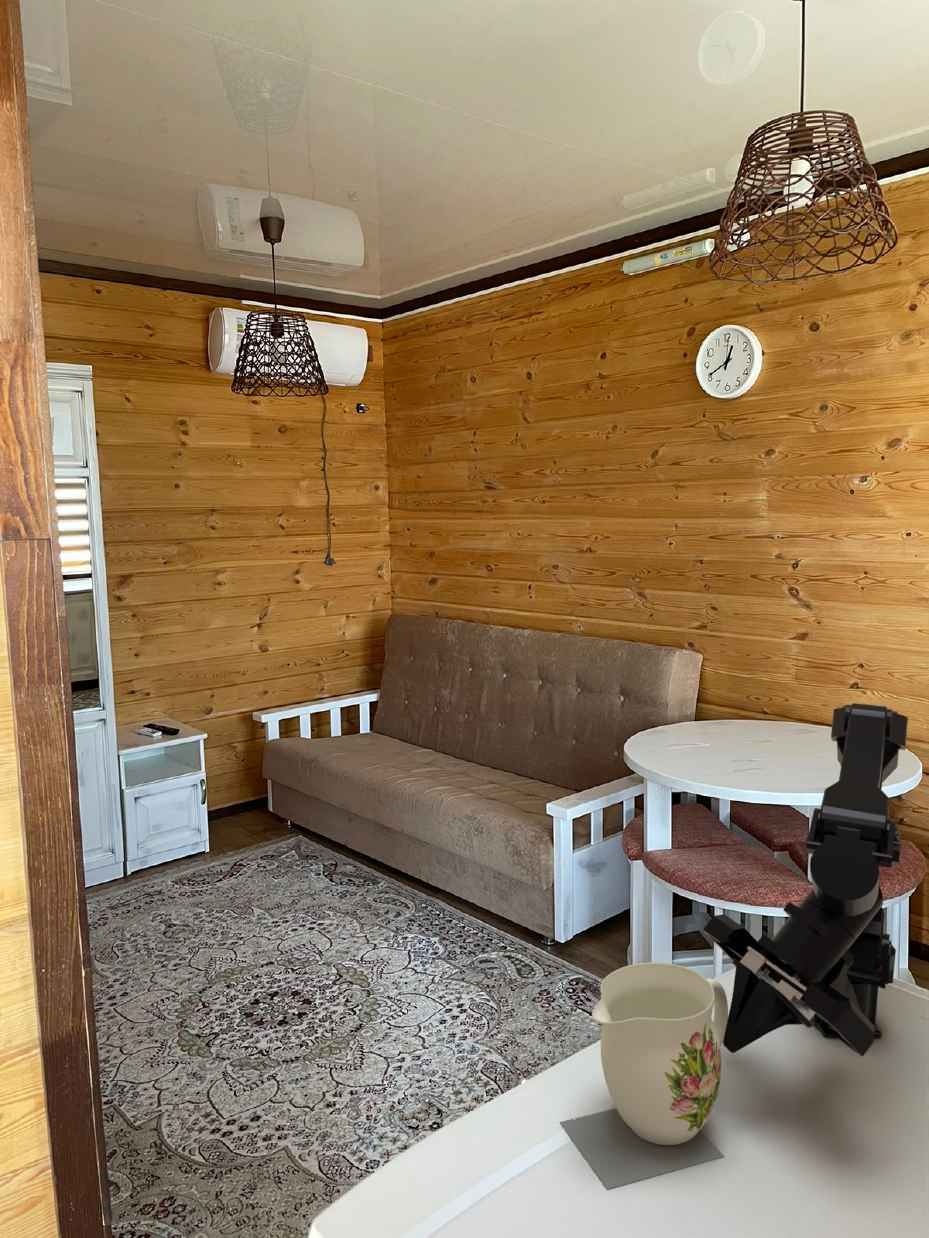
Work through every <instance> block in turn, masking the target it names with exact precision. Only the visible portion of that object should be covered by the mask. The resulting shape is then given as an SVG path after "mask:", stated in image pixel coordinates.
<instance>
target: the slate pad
mask: <svg viewBox="0 0 929 1238" xmlns="http://www.w3.org/2000/svg"><path fill="white" fill-rule="evenodd" d="M574 1119H575V1120H574ZM559 1125H560V1126H561V1127H562V1128H563V1130H564V1129H565V1130H564V1131H565V1133H566V1135H567V1136H568V1137H569V1138H570V1140H571V1141H572V1142H573V1144H574V1146H575V1147H576V1149H577V1150H578V1151H579V1153H580V1154H581V1156H582V1157H583V1158H584V1160H585V1161H586V1162H587V1164H588V1165H589V1167H590V1168H591V1170H592V1171H593V1173H594V1174H595V1176H597V1178H598V1180H599V1181H600V1183H601V1184H602V1185H603V1187H604V1188H605V1190H606V1191H610V1190H614V1189H618V1188H621V1187H625V1186H628V1185H630V1184H634V1183H638V1182H641V1181H644V1180H645V1181H646V1180H649V1179H653V1178H656V1177H659V1176H662V1175H663V1176H664V1175H667V1174H670V1173H673V1172H677V1171H681V1170H684V1169H688V1168H691V1167H695V1166H699V1165H701V1164H705V1163H709V1162H712V1161H716V1160H719V1159H722V1158H723V1159H724V1158H725V1155H724V1154H723V1153H722V1151H720V1149H718V1147H717V1146H716V1144H714V1143H713V1142H712V1141H711V1140H710V1138H709V1137H707V1135H706V1134H705V1133H704V1132H703V1131H702V1130H701V1129H700V1130H699V1131H698V1133H697V1134H696V1135H695V1136H694V1137H693V1138H691V1139H690V1140H688V1141H686V1142H683V1143H680V1144H675V1145H660V1144H655V1143H652V1142H649V1141H646V1140H644V1139H642V1138H641V1137H639V1136H638V1135H637V1134H635V1133H634V1131H633V1130H632V1129H631V1128H630V1127H629V1126H628V1125H627V1124H626V1122H625V1121H624V1120H623V1118H622V1117H621V1115H620V1114H619V1112H618V1111H617V1109H616V1107H615V1108H612V1109H607V1110H603V1111H600V1112H596V1113H591V1114H587V1115H583V1116H579V1117H574V1118H571V1119H567V1120H562V1121H560V1122H559Z"/></svg>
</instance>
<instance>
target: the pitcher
mask: <svg viewBox="0 0 929 1238" xmlns="http://www.w3.org/2000/svg"><path fill="white" fill-rule="evenodd" d="M599 988H600V989H599V991H600V995H601V998H600V1000H599V1001H598V1002H597V1003H596V1004H595V1006H594V1007H593V1010H592V1012H591V1017H592V1019H593V1020H594V1021H595V1022H596V1023H598V1024H600V1025H602V1027H601V1035H600V1057H601V1058H600V1059H601V1066H602V1071H603V1076H604V1080H605V1084H606V1087H607V1089H608V1092H609V1095H610V1098H611V1100H612V1103H613V1104H614V1106H615V1108H616V1109H617V1111H618V1112H619V1114H620V1115H621V1117H622V1118H623V1120H624V1121H625V1122H626V1124H627V1125H628V1126H629V1127H630V1128H631V1129H632V1130H633V1131H634V1133H635V1134H637V1135H638V1136H639V1137H641V1138H642V1139H644V1140H646V1141H649V1142H652V1143H655V1144H660V1145H675V1144H680V1143H683V1142H686V1141H688V1140H690V1139H691V1138H693V1137H694V1136H695V1135H696V1134H697V1133H698V1131H699V1130H701V1129H702V1128H703V1127H704V1126H705V1125H706V1123H707V1121H708V1120H709V1117H710V1116H711V1113H712V1111H713V1109H714V1106H715V1103H716V1100H717V1097H718V1093H719V1089H720V1084H721V1077H722V1076H721V1074H722V1050H721V1047H722V1046H723V1039H724V1035H725V1030H726V1025H727V1021H728V1016H729V1005H728V1004H729V1003H728V997H727V993H726V991H725V989H724V987H723V985H722V984H721V982H719V981H718V980H717V979H713V978H710V977H708V978H707V977H705V976H703V975H702V974H700V973H699V972H697V971H695V970H693V969H691V968H688V967H686V966H682V965H678V964H674V963H669V962H668V963H667V962H658V961H657V962H655V961H653V962H640V963H633V964H629V965H626V966H623V967H620V968H619V969H615V970H614V971H612V972H610V973H609V974H608V975H606V976H605V977H604V979H602V981H601V984H600V987H599ZM713 1009H714V1011H713ZM713 1013H714V1015H713ZM712 1015H713V1019H712Z"/></svg>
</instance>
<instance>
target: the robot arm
mask: <svg viewBox="0 0 929 1238" xmlns="http://www.w3.org/2000/svg"><path fill="white" fill-rule="evenodd" d="M832 712H833V714H832V722H831V724H832V725H831V733H830V734H831V735H830V739H831V742H836V750H837V751H836V754H837V761H838V763H839V764H840V772H839V777H838V781H836V782H835V783H833V784H832V785H830V786H828V787H826V788H825V789H824V791H823V795H822V800H821V805H820V808H818V807H814V809H813V814H812V819H811V822H810V828H809V832H808V835H807V836H808V837H807V840H806V852H807V854H810V855H811V857H810V861H809V869H810V877H811V883H812V888H811V889H810V891H809V892H808V893H807V894H806V896H805V897H804V898H803V899H802V901H801V902H800V903H799V904H798V906H797V905H795V904H794V903H791V902H790V901H788V903H787V904H786V905H785V907H784V908H783V910H782V911H783V912H785V913H786V915H787V916H788V918H787V920H786V921H785V922H784V923H783V925H782V926H781V927H780V929H778V931H777V932H776V934H774V936H773V937H772V938H770V937H768V936H766V935H765V934H762V935H761V936H760V938H759V939H758V940H757V939H756V938H755V937H754V936H753V935H752V934H751V933H750V932H749V931H748V930H747V929H746V928H745V927H744V926H742V925H741V924H740V923H738V922H736V921H735V920H734V919H732V918H731V917H729V916H728V915H726V914H724V913H723V914H722V913H721V914H717V915H713V916H712V917H711V919H710V920H709V921H708V922H707V924H706V925H705V926H704V927H703V929H702V931H703V933H704V934H706V936H708V937H709V938H710V939H711V940H712V942H714V944H716V946H718V948H719V949H721V951H722V952H723V953H724V954H725V955H726V956H728V958H729V959H730V960H732V961H731V963H732V965H733V966H735V972H734V981H733V989H732V995H731V996H732V997H731V1001H730V1002H731V1003H730V1006H729V1007H730V1008H729V1010H728V1021H727V1025H726V1030H725V1035H724V1039H723V1043H722V1046H723V1047H725V1048H726V1050H728V1051H729V1053H731V1054H734V1053H737V1052H738V1051H740V1050H742V1049H743V1048H745V1047H747V1046H749V1045H750V1044H752V1043H754V1042H755V1041H757V1040H759V1039H760V1038H762V1037H764V1036H766V1035H767V1034H769V1033H771V1032H773V1031H776V1030H778V1029H780V1028H781V1027H784V1026H791V1025H794V1026H795V1025H803V1026H805V1027H806V1028H809V1029H810V1028H812V1027H814V1024H813V1023H815V1025H816V1026H817V1028H818V1029H819V1031H820V1032H821V1034H822V1035H823V1036H824V1037H826V1038H837V1039H838V1040H839V1041H841V1043H843V1044H844V1045H845V1046H846V1047H848V1048H849V1049H850V1050H852V1051H854V1052H855V1053H856V1054H857V1055H859V1056H860V1057H864V1056H865V1054H866V1053H867V1052H868V1050H869V1049H870V1048H871V1046H872V1045H873V1044H874V1042H875V1038H877V1039H880V1038H882V1037H883V1031H882V1030H881V1029H880V1028H879V1026H878V1025H877V1024H876V1021H877V1020H876V1019H877V1009H878V997H879V988H880V989H884V990H886V986H887V985H888V984H893V983H894V975H895V963H896V952H897V950H896V948H895V947H894V946H893V944H892V940H891V939H890V938H891V937H890V936H891V934H890V933H885V932H884V926H885V923H884V922H885V912H884V910H883V906H884V902H883V901H884V897H883V891H882V888H881V886H880V868H879V867H883V868H889V869H892V865H893V862H895V863H900V857H901V856H900V855H901V845H902V844H901V843H902V832H901V831H900V830H899V829H898V823H896V820H894V819H889V815H890V813H889V812H890V802H891V801H890V798H889V796H888V795H887V794H886V793H885V792H884V791H883V790H882V789H883V782H885V781H886V779H888V777H890V775H892V773H893V772H894V771H895V770H896V769H897V768H898V766H899V764H898V763H899V753H900V751H901V750H903V751H906V745H907V737H908V736H907V735H908V724H909V717H908V716H906V715H903V714H900V713H898V712H899V711H896V710H895V711H894V710H893V709H891V708H888V707H887V706H884V705H877V704H876V705H875V704H867V703H857V702H852V703H851V704H846V705H845V706H844V707H837V708H834V709H833V711H832ZM811 1020H812V1021H813V1023H812V1022H811Z"/></svg>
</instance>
